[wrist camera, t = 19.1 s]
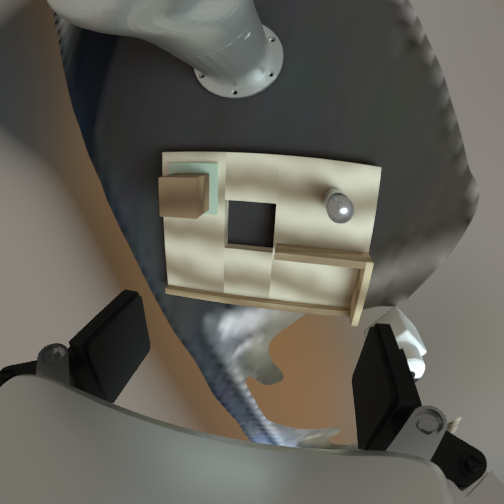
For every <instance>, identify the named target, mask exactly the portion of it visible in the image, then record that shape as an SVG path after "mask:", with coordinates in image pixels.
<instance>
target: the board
mask: <svg viewBox="0 0 504 504" xmlns="http://www.w3.org/2000/svg"><path fill="white" fill-rule="evenodd" d="M169 163H219V174H218V213H217V214H216V215H214V214H203V215H201V216H200V217H198V218H197V219H189V218H174V217H164V236H165V252H166V265H167V277H168V285H167V287H166V288H165V291H166V294H172V295H178V296H184V297H190V298H196V299H202V300H208V301H215V302H222V303H229V304H236V305H243V306H250V307H258V308H266V309H274V310H283V311H291V312H301V313H310V314H321V315H332V316H342V317H349V318H350V322H351V326H358V323H359V320H360V316H361V313H362V309H363V305H364V302H365V298H366V294H367V290H368V286H369V282H370V278H371V273H372V269H373V264H374V262H373V261H372V259H371V257H370V255H369V253H368V252H369V247H370V242H371V237H372V231H373V225H374V219H375V213H376V206H377V199H378V192H379V184H380V175H381V167H378V166H372V165H366V164H359V163H352V162H345V161H337V160H329V159H321V158H312V157H302V156H291V155H278V154H263V153H243V152H162V176H166V175H169ZM332 187H336V188H339V189H340V190H341V191H342V192H343V193H344V194H345V195H346V196H347V197H348V198H349V200H350V201H351V202H352V203H353V206H354V214H353V217H352V218H351V219H350V220H349V221H348V222H346V223H343V224H339V223H335V222H333V221H332V220H331V219H330V218H329V216H328V214H327V211H326V208H325V206H324V203H323V194H324V192H325V191H326V190H327V189H329V188H332ZM229 200H236V201H250V202H262V203H273V204H276V216H275V229H274V243H273V248H270V247H260V246H250V245H241V244H231V243H228V201H229Z"/></svg>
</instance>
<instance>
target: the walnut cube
mask: <svg viewBox="0 0 504 504" xmlns="http://www.w3.org/2000/svg"><path fill="white" fill-rule="evenodd" d="M158 178H159V209H160V217H174V218H189V219H197V218H198V217H200V216H201V215H203V214H204V213H205V212H207V211H208V210H209V173H173V174H169V175H166V176H162V177H158Z"/></svg>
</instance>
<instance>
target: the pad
mask: <svg viewBox="0 0 504 504" xmlns="http://www.w3.org/2000/svg"><path fill="white" fill-rule="evenodd" d="M173 173H209V210H208V211H207V212H205V213H204V214H214V215H216V214H217V213H218V174H219V163H169V174H173Z"/></svg>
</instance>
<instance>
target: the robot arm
mask: <svg viewBox="0 0 504 504" xmlns="http://www.w3.org/2000/svg"><path fill="white" fill-rule="evenodd" d="M47 2H48V3H49V5H50V6H51V8H52V9H53V10H54V11H55V12H56V13H57V14H58V15H59V16H61V17H62V18H64V19H65V20H66V21H68V22H70V23H72V24H74V25H76V26H79V27H82V28H84V29H88V30H92V31H96V32H100V33H106V34H112V35H120V36H128V37H135V38H139V39H143V40H146V41H148V42H150V43H152V44H154V45H156V46H158V47H160V48H162V49H164V50H166V51H167V52H169V53H170V54H172V55H174V56H175V57H177V58H179V59H180V60H182V61H184V62H185V63H187V64H188V65H190V66H192V67H193V68H194V72H195V75H196V77H197V79H198V81H199V82H200V83H201V84H202V86H203V87H205V88H206V89H207V90H208V91H210V92H212V93H214V94H216V95H218V96H221V97H225V98H233V99H239V98H247V97H250V96H253V95H256V94H258V93H260V92H262V91H263V90H265V89H266V88H268V87H269V86H270V85H271V84H272V83H273V82H274V81H275V80H276V78H277V77H278V75H279V74H280V71H281V69H282V66H283V60H284V56H283V49H282V45H281V43H280V41H279V39H278V37H277V36H276V35H275V33H274V32H272V31H271V30H270V29H269V28H268V27H266V26H264V25H262V24H261V21H260V19H259V16H258V14H257V11H256V9H255V6H254V4H253V2H254V0H47ZM272 40H274V42H271V41H272ZM270 74H273V76H272V77H270ZM204 75H205V77H204V78H202V77H203V76H204ZM235 92H237V94H236V95H234V93H235ZM69 344H70V347H69V348H68V349H67V347H66V346H64V345H63V344H59V343H55V344H50V345H48V346H46V347H44V348H43V349H42V350H41V351H40V352H39V354H38V357H37V360H36V361H31V362H26V363H21V364H16V365H11V366H7V367H4V368H3V369H2V370H1V371H0V504H504V485H503V484H502V483H501V481H500V480H499V479H498V478H497V477H496V476H495V475H494V474H493V473H492V471H490V472H489V473H488V472H487V471H486V467H487V462H486V458H485V456H484V455H483V453H482V452H481V451H479V450H478V449H476V448H474V447H473V446H471V445H469V444H468V443H466V442H464V441H463V440H461V439H459V438H457V437H456V436H454V435H453V434H451V433H449V432H448V431H446V428H447V419H446V417H445V415H444V414H443V413H442V411H440V410H439V409H437V408H436V407H433V406H422V404H421V401H420V398H419V395H418V392H417V389H416V386H415V382H414V379H413V377H412V374H411V371H410V368H409V365H408V362H407V360H406V358H405V357H402V355H401V352H400V349H399V346H398V344H397V341H396V338H395V336H394V333H393V331H392V328H391V326H390V324H383V323H376V324H375V325H374V327H370V328H369V331H368V334H367V337H366V340H365V343H364V346H363V349H362V352H361V354H360V358H359V360H358V363H357V365H356V368H355V371H354V373H353V377H352V386H353V396H354V405H355V415H356V425H357V438H358V448H359V449H360V450H327V449H310V448H296V447H286V446H277V445H269V444H261V443H255V442H248V441H242V440H237V439H231V438H226V437H221V436H217V435H212V434H208V433H203V432H199V431H195V430H191V429H187V428H184V427H180V426H177V425H173V424H169V423H166V422H163V421H160V420H156V419H153V418H150V417H147V416H144V415H141V414H139V413H136V412H133V411H130V410H128V409H125V408H122V407H120V406H117V405H115V404H112V403H114V402H115V400H116V399H117V397H118V396H119V394H120V393H121V391H122V390H123V388H124V387H125V386H126V384H127V383H128V381H129V380H130V378H131V377H132V375H133V374H134V373H135V371H136V370H137V368H138V367H139V365H140V364H141V362H142V361H143V360H144V358H145V357H146V355H147V354H148V352H149V350H150V340H149V335H148V330H147V325H146V319H145V313H144V308H143V301H142V297H141V296H139V294H138V292H136V291H130V290H124V291H122V292H121V293H120V294H119V295H118V296H117V297H116V298H115V299H114V300H113V301H111V302H110V303H109V304H108V305H107V306H106V307H105V308H104V309H103V310H102V311H101V312H99V314H98V315H96V316H95V317H94V318H93V319H92V320H91V321H90V322H89V323H88V324H87V325H86V326H85V327H84V328H83V329H82V330H81V331H79V332H78V334H77V335H75V336H74V337H73V338H72V339H71V340H70V341H69ZM361 449H362V450H361Z"/></svg>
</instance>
